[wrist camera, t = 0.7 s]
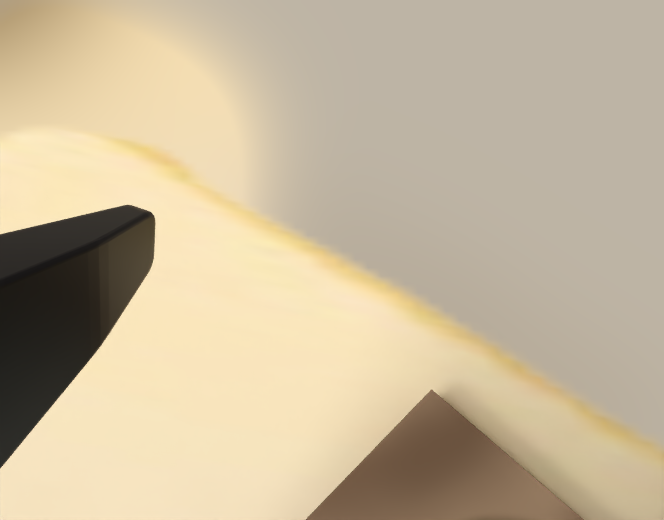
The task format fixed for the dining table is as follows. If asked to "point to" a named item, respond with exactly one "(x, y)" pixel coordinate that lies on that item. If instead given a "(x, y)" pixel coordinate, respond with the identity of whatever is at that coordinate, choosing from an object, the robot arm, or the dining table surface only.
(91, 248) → the robot arm
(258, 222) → the dining table surface
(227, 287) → the dining table surface
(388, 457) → the serving board
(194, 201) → the dining table surface
